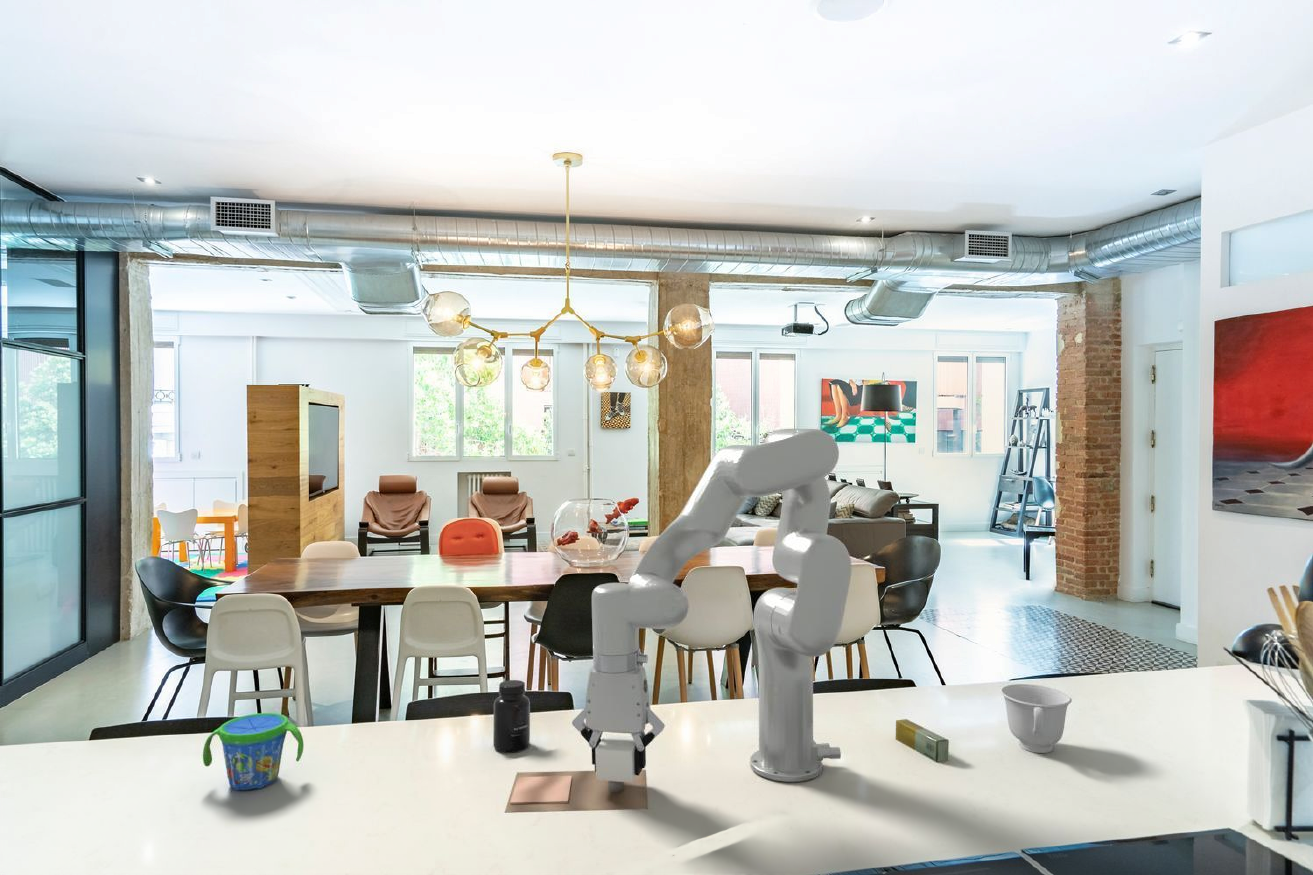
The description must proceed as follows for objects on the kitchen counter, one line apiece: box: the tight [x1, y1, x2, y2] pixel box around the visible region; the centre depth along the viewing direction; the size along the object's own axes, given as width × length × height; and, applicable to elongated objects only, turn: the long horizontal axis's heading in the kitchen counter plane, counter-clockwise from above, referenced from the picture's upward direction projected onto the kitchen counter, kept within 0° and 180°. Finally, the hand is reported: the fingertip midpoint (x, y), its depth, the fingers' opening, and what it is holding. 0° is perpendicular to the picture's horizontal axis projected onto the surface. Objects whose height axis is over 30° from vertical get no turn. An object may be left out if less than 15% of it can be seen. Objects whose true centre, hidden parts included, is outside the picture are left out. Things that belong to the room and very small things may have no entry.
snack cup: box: [202, 712, 305, 791], centre depth 134 cm, size 16×10×10 cm
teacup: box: [1000, 683, 1073, 754], centre depth 146 cm, size 12×15×10 cm
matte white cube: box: [595, 733, 636, 783], centre depth 128 cm, size 6×6×5 cm
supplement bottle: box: [492, 679, 531, 754], centre depth 149 cm, size 7×7×12 cm
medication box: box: [895, 719, 950, 764], centre depth 147 cm, size 12×3×4 cm, turn 21°
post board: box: [504, 769, 649, 813], centre depth 128 cm, size 22×14×5 cm, turn 92°
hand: (619, 769), depth 128 cm, fingers closed on matte white cube, 6 cm apart
